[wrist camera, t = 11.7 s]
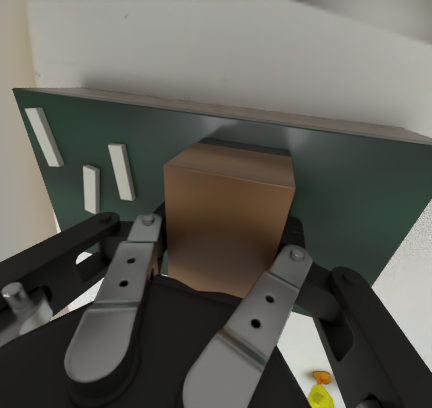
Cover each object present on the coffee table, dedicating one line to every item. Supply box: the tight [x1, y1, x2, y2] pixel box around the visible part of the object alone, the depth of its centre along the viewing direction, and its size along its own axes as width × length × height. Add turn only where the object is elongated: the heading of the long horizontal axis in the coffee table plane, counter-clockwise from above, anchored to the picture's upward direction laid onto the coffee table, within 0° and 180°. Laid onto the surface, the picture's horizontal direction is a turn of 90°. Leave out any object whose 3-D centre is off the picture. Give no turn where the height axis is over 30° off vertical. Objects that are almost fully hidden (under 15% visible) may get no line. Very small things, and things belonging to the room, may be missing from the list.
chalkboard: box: [12, 88, 432, 317], centre depth 18 cm, size 14×26×6 cm, turn 85°
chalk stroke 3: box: [108, 143, 136, 201], centre depth 15 cm, size 4×1×1 cm, turn 0°
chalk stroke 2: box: [83, 164, 100, 214], centre depth 16 cm, size 4×1×1 cm, turn 163°
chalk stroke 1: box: [25, 108, 64, 167], centre depth 15 cm, size 4×1×1 cm, turn 3°
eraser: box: [163, 138, 296, 298], centre depth 12 cm, size 8×5×5 cm, turn 175°
